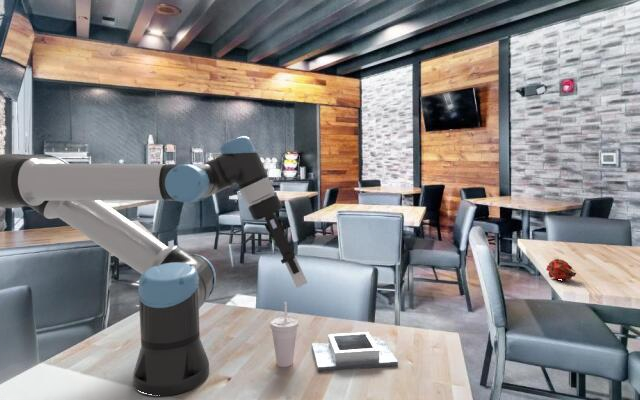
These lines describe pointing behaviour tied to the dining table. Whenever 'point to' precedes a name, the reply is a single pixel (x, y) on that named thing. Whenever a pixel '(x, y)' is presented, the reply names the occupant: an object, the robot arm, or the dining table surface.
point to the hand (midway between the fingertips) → (299, 278)
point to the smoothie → (284, 338)
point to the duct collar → (352, 352)
